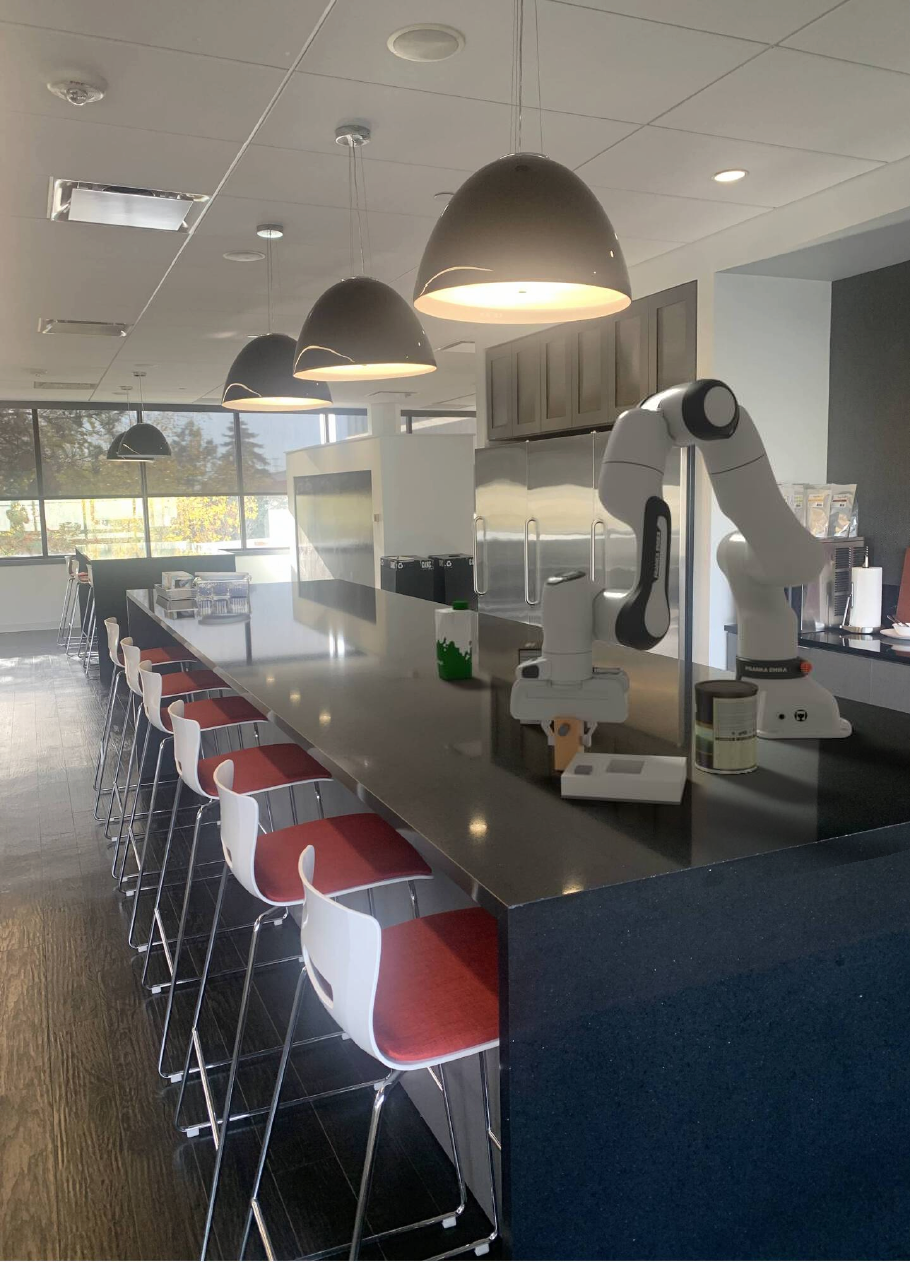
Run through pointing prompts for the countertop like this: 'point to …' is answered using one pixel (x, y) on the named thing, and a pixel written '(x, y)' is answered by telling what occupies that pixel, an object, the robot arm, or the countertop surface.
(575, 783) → the socket
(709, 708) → the coffee can
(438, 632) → the milk carton
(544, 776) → the countertop surface
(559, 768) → the plug
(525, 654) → the coffee box
